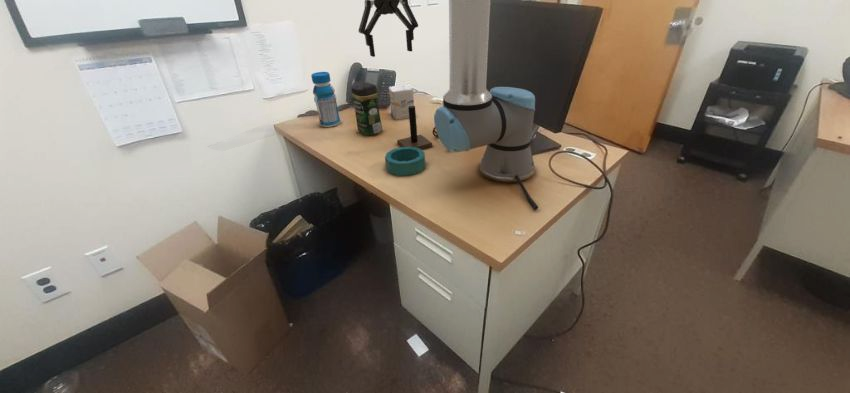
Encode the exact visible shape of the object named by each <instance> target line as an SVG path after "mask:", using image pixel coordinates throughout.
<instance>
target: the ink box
mask: <svg viewBox="0 0 850 393" xmlns="http://www.w3.org/2000/svg"><path fill="white" fill-rule="evenodd" d="M388 94H389V104H390V112H391V113H390V114H391V115H392V117H393V118H394V120H396V121H398V120H402V119H409V109H408V107H409V106H415V99H414V98H415V96H414V89H413V88H412V87H411V86H410V85H409V84H408V83H406V84H399V85H392V86H388Z"/></svg>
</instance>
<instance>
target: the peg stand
mask: <svg viewBox="0 0 850 393" xmlns="http://www.w3.org/2000/svg"><path fill="white" fill-rule="evenodd" d="M408 109H409V118H408V119H409V120H408V121H409V131H410V132H409V133H410V134H409V135H410V136H408V137H405V138H400V139H397V142H396V143H397V145H398V146H399V147H415V148H420V149H421V150H422V151H423V150H426V149H429V148H433V142H432V141H430V140H429V139H427V137H425V136H423V135H422V134H418V126H417V115H416V114H417V112H416V106H415V105H414V106H409V107H408Z"/></svg>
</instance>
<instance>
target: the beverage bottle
mask: <svg viewBox="0 0 850 393" xmlns="http://www.w3.org/2000/svg"><path fill="white" fill-rule="evenodd" d="M311 82H312V84H313V85H314V86H313V89H312V94H313V95H314V97H313V101H314V103H315V107H316V112H317V115H318V120H319V125H320V126H321V127H324V128H332V127H335V126H338V125H339V124H340V123H341V118H340V114H339V109H338V103H337V95H336V94H335V88H334V86H333V85H332V84H331V76H330V72H329V71H317V72H313V73H311Z"/></svg>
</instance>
